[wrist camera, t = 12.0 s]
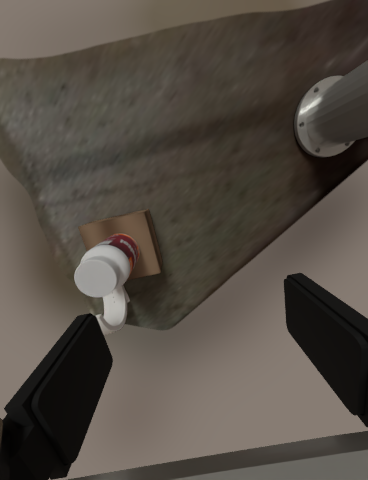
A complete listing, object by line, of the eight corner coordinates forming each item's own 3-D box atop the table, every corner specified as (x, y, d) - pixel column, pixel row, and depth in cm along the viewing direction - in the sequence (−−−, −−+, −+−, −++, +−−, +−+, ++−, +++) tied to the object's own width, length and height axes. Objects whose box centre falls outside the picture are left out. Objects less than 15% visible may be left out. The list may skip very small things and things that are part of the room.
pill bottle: (146, 260, 32) (132, 293, 21) (113, 272, 32) (83, 311, 22) (131, 226, 30) (108, 245, 20) (96, 240, 31) (56, 265, 20)
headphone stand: (121, 280, 39) (99, 317, 28) (132, 303, 41) (115, 348, 29) (100, 286, 39) (70, 326, 28) (112, 310, 41) (88, 356, 29)
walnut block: (148, 208, 36) (144, 212, 30) (162, 260, 39) (160, 272, 33) (93, 221, 36) (78, 226, 30) (111, 272, 39) (100, 286, 33)
